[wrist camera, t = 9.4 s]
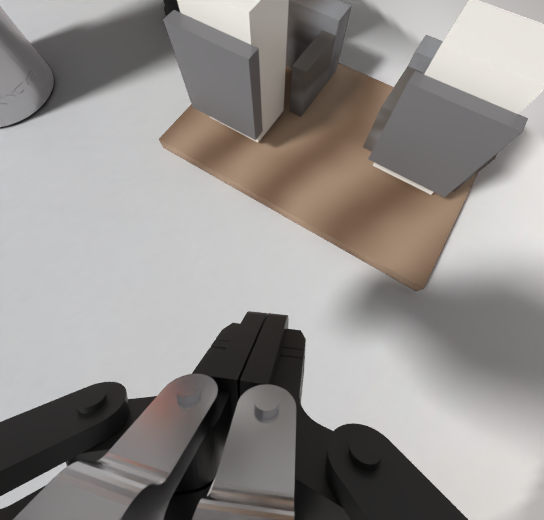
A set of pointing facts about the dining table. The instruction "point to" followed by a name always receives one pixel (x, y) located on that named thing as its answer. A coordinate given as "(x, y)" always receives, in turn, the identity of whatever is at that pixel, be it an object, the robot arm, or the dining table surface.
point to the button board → (330, 153)
